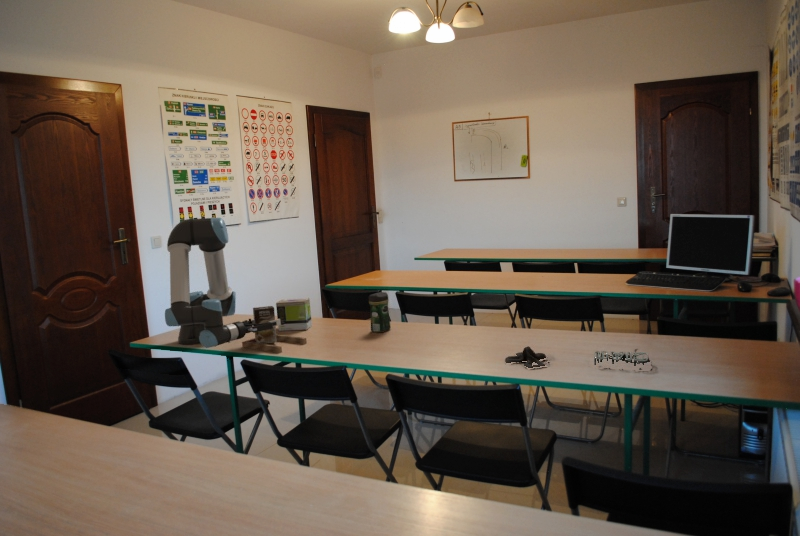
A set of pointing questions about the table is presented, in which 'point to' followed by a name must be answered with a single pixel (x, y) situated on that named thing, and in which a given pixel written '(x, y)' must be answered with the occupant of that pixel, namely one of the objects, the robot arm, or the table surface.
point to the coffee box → (264, 317)
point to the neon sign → (621, 357)
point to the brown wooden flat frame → (272, 348)
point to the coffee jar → (379, 312)
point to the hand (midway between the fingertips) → (271, 320)
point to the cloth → (527, 358)
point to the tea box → (294, 314)
